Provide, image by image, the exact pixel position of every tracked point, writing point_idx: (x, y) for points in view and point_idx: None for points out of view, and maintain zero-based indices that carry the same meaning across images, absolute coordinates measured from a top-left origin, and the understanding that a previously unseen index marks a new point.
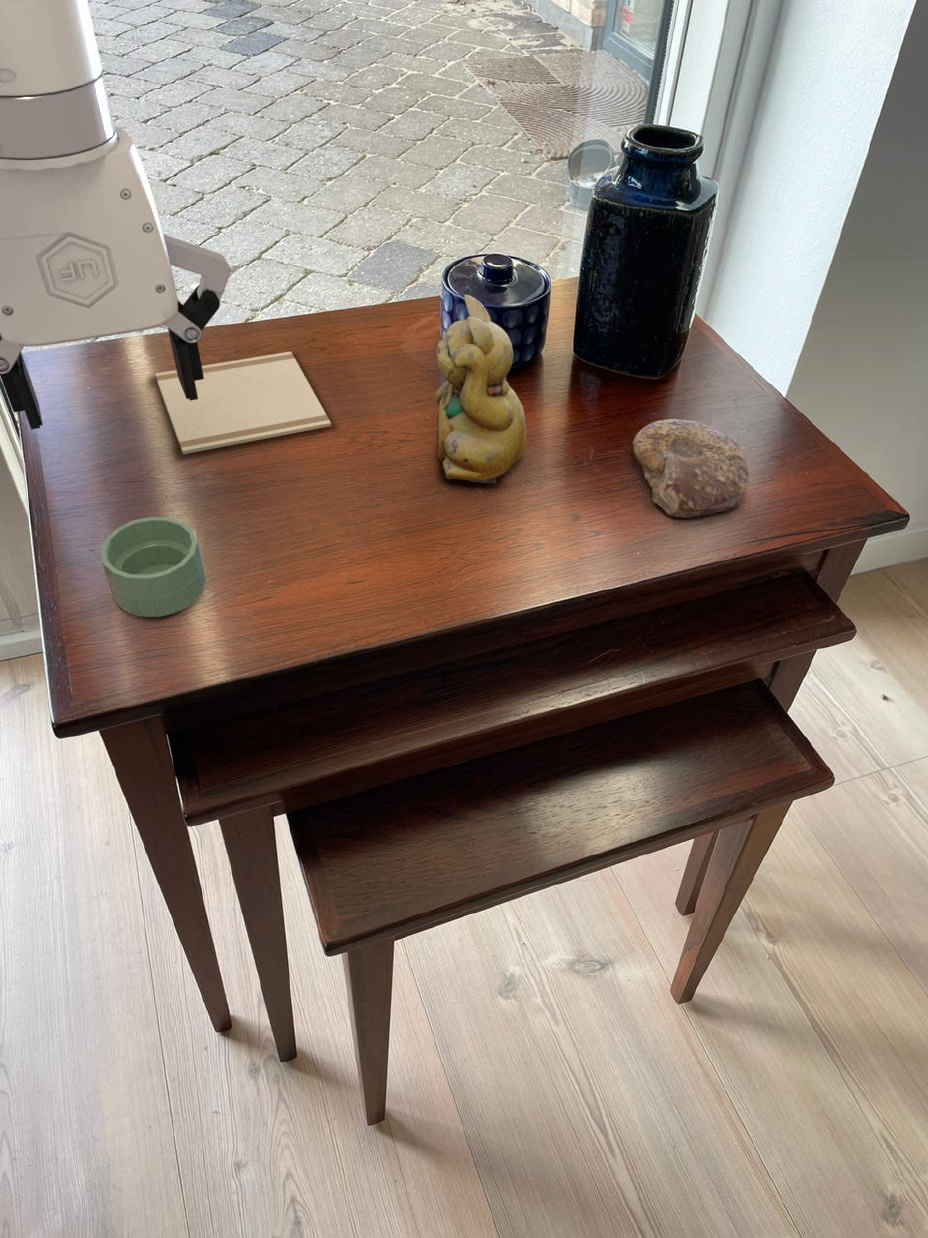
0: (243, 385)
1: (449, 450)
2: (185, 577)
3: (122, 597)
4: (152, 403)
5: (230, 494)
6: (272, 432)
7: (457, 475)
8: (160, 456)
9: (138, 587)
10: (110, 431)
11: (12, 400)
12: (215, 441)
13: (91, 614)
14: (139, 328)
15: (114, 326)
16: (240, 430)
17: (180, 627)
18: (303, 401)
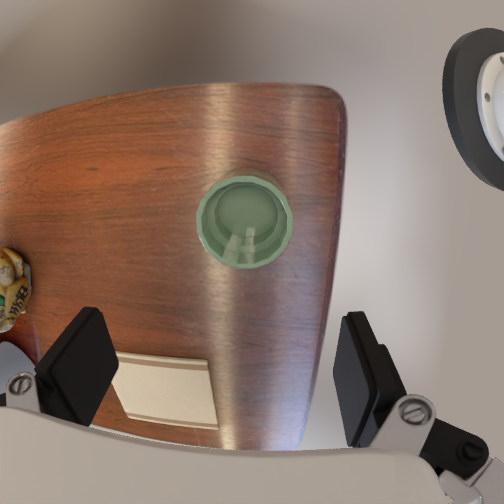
0: (158, 404)
1: (8, 269)
2: (217, 181)
3: (282, 188)
4: (224, 409)
5: (174, 306)
6: (138, 357)
7: (15, 255)
8: (224, 362)
9: (264, 178)
10: (257, 394)
11: (386, 357)
12: (180, 363)
13: (310, 198)
14: (45, 418)
15: (92, 450)
16: (161, 367)
17: (238, 155)
18: (117, 376)
